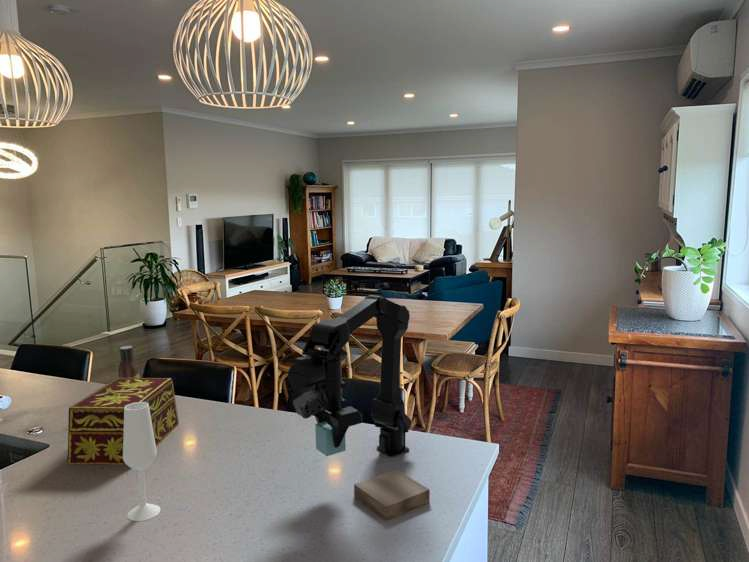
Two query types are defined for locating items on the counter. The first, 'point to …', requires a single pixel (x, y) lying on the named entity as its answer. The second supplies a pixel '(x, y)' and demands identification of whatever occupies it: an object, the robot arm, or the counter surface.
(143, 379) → the decorative box
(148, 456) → the champagne flute
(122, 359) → the sauce bottle
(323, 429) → the teal block
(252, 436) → the counter surface
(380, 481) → the walnut base
